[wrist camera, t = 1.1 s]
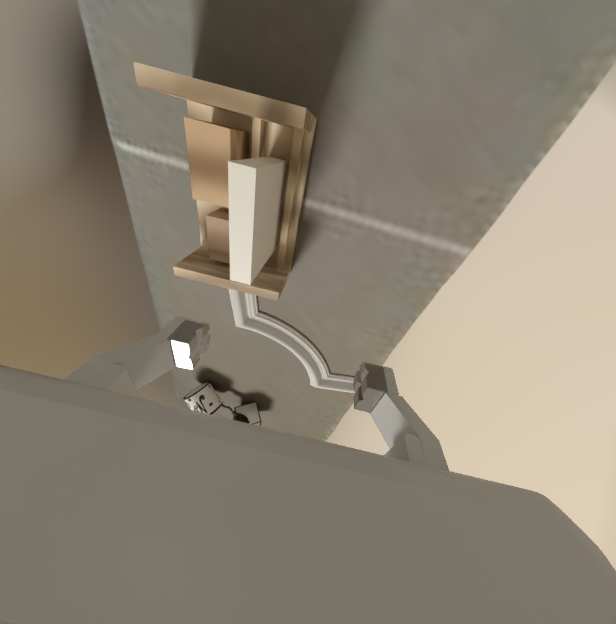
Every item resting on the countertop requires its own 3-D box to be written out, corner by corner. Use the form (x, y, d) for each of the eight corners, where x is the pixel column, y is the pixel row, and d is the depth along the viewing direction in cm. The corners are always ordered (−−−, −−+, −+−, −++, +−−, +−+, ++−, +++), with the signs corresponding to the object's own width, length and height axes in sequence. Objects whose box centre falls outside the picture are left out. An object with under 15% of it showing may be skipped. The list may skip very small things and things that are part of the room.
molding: (364, 382, 58) (365, 392, 56) (329, 396, 64) (328, 405, 62) (241, 267, 42) (235, 274, 40) (208, 299, 48) (201, 307, 46)
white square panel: (269, 156, 29) (227, 161, 19) (287, 161, 29) (256, 168, 19) (262, 242, 36) (229, 280, 26) (276, 246, 37) (250, 285, 26)
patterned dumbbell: (191, 385, 70) (171, 415, 62) (201, 371, 64) (181, 402, 57) (259, 417, 77) (249, 448, 69) (273, 407, 71) (264, 439, 63)
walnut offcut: (221, 207, 34) (205, 215, 30) (247, 213, 34) (234, 222, 30) (223, 246, 38) (209, 258, 34) (245, 252, 38) (234, 264, 34)
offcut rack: (191, 85, 27) (133, 61, 20) (316, 118, 27) (306, 107, 20) (206, 251, 41) (174, 275, 33) (290, 272, 41) (277, 300, 33)
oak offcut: (211, 122, 28) (183, 116, 23) (249, 132, 28) (230, 128, 23) (214, 191, 33) (192, 198, 28) (247, 199, 33) (231, 208, 28)
